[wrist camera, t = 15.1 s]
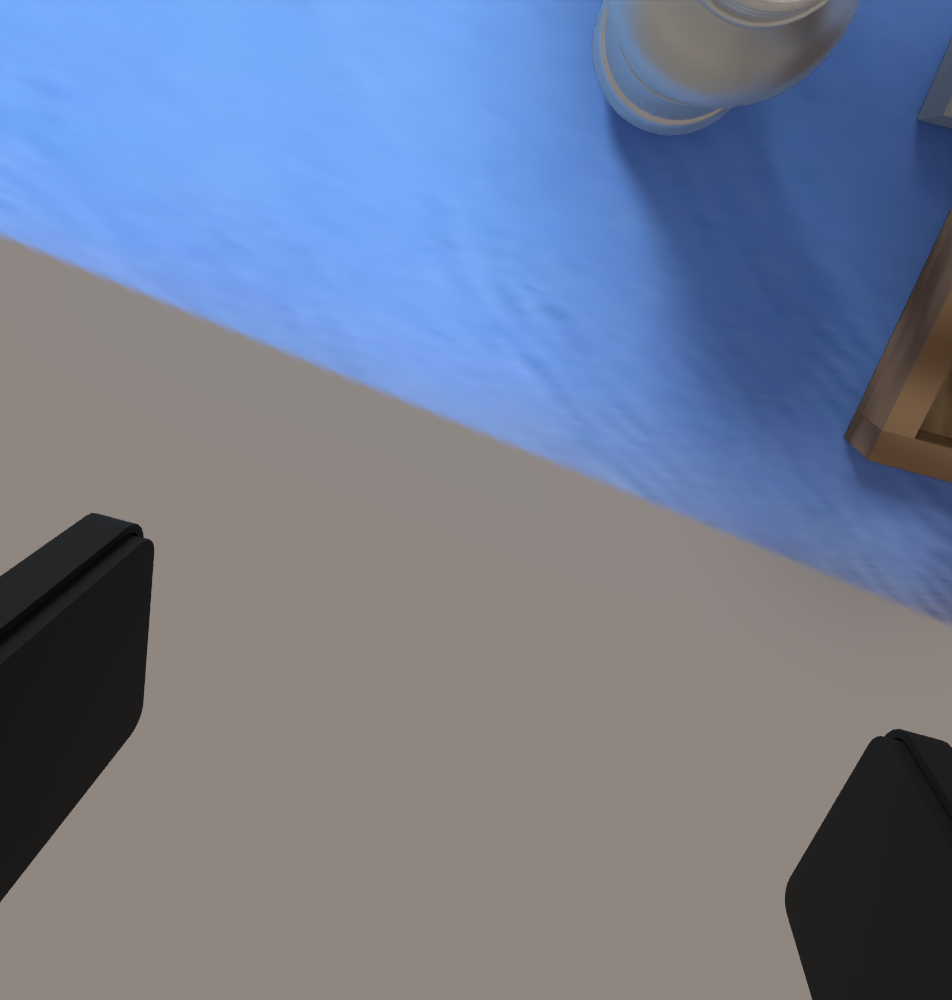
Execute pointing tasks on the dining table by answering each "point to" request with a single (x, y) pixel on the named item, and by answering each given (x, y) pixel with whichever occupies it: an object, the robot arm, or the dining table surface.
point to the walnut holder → (914, 379)
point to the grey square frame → (940, 95)
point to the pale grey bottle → (708, 55)
